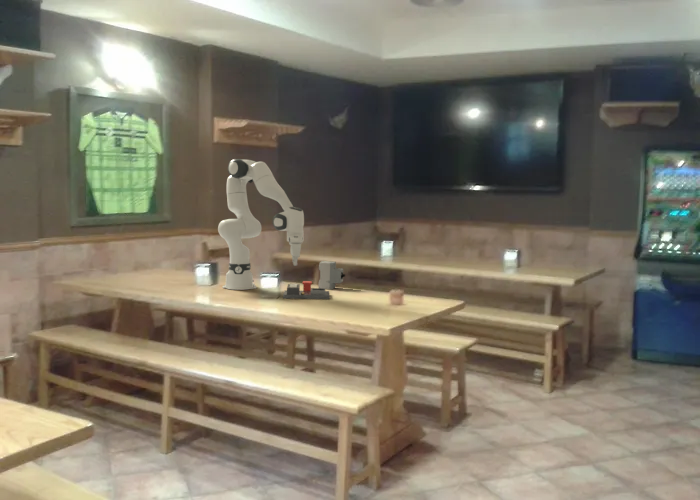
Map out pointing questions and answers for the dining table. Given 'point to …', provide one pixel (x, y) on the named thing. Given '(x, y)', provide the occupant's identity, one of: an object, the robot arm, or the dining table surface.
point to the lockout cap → (307, 285)
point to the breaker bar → (293, 286)
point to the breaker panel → (305, 293)
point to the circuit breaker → (329, 275)
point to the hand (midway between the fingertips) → (294, 264)
